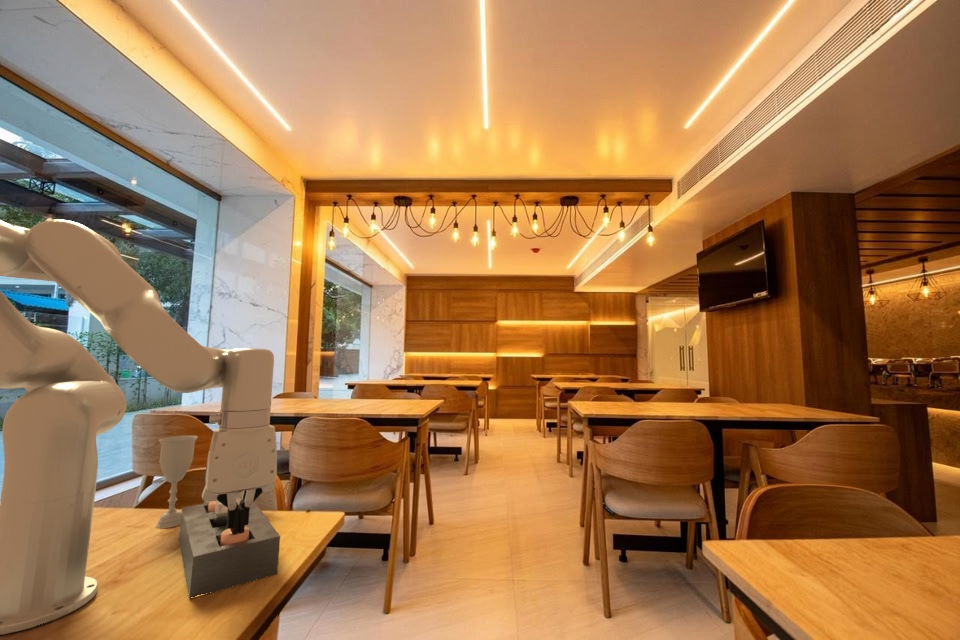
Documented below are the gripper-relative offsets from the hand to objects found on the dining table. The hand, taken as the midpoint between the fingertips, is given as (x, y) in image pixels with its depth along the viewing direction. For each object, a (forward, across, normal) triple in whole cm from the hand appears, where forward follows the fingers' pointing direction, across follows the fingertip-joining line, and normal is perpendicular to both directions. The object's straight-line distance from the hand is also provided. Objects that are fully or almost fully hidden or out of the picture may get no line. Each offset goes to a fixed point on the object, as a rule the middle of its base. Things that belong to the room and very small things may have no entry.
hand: (237, 531), depth 67 cm
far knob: (+3, 0, +18) cm, 18 cm away
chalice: (+7, -7, +33) cm, 34 cm away
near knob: (+3, 0, 0) cm, 3 cm away
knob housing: (+7, 0, +9) cm, 11 cm away
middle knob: (0, 0, +9) cm, 9 cm away
